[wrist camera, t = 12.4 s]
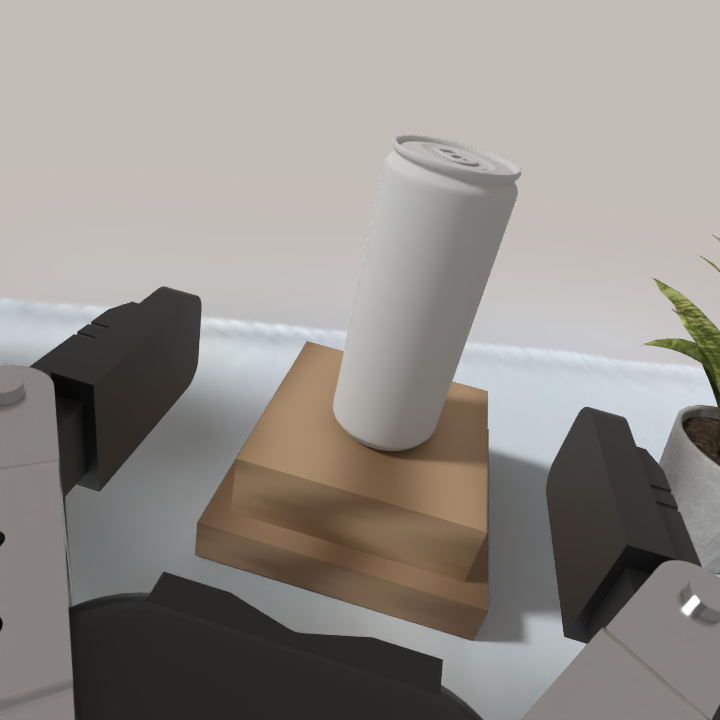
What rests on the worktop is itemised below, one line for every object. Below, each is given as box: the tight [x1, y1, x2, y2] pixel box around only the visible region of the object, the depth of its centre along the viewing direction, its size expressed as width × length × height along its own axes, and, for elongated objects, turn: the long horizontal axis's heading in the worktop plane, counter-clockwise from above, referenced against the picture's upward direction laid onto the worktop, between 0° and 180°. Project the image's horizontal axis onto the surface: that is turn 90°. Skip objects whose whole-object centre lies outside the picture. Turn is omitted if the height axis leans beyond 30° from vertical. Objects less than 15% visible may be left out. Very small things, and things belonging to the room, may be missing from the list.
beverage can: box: [333, 135, 521, 451], centre depth 23 cm, size 5×5×12 cm
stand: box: [195, 341, 489, 640], centre depth 27 cm, size 12×12×5 cm
